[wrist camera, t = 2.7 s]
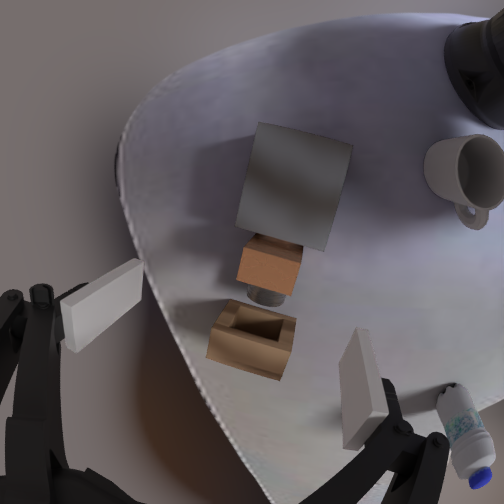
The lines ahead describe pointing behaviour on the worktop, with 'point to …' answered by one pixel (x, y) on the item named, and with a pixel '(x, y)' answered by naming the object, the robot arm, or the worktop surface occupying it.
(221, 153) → the worktop surface
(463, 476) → the bottle
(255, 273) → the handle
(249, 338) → the sleeve and socket
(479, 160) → the cup
